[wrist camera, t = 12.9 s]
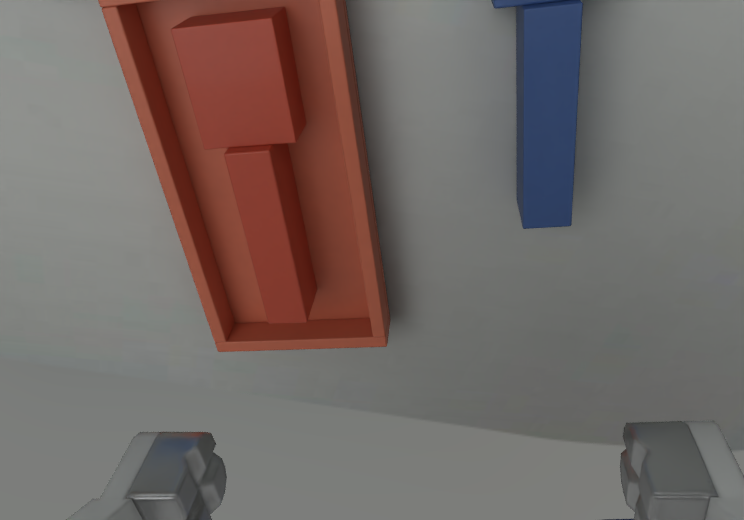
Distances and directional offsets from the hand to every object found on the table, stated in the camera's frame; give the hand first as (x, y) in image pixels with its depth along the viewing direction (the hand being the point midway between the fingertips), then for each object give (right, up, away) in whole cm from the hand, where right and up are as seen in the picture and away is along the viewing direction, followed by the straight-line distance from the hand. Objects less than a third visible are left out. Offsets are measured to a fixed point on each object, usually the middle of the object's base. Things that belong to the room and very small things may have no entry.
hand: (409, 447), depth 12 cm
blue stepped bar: (+5, +11, +10) cm, 16 cm away
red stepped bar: (-5, +7, +13) cm, 16 cm away
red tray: (-5, +7, +14) cm, 16 cm away
